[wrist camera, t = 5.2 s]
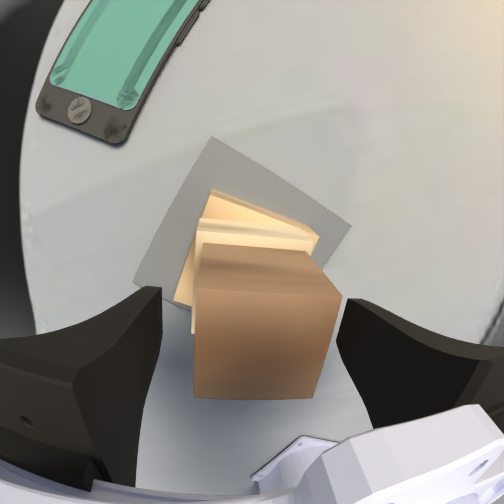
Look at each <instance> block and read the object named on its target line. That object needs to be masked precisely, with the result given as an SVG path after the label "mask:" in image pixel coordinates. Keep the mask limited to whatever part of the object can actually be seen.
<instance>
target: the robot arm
mask: <svg viewBox="0 0 504 504" xmlns="http://www.w3.org/2000/svg"><path fill="white" fill-rule="evenodd" d="M162 334H163V330H162V287H156V286H144V287H143V288H141V289H139V290H138V291H136V292H135V293H133V294H132V295H130V296H129V297H127V298H126V299H124V300H123V301H121V302H120V303H118V304H116V305H115V306H113V307H111V308H109V309H108V310H106V311H104V312H102V313H101V314H99V315H97V316H95V317H93V318H90V319H88V320H86V321H83V322H81V323H78V324H76V325H73V326H69V327H66V328H63V329H60V330H57V331H53V332H49V333H44V334H39V335H34V336H27V337H18V338H6V339H0V504H491V503H492V502H494V501H495V500H497V499H498V498H499V497H500V496H502V495H503V494H504V347H497V346H486V345H480V344H474V343H469V342H464V341H461V340H457V339H453V338H449V337H446V336H443V335H440V334H438V333H435V332H432V331H429V330H427V329H425V328H422V327H420V326H418V325H416V324H413V323H411V322H409V321H407V320H405V319H403V318H401V317H399V316H397V315H395V314H393V313H391V312H389V311H387V310H385V309H383V308H381V307H379V306H377V305H375V304H373V303H371V302H369V301H366V300H363V299H349V298H348V299H347V303H346V307H345V310H344V314H343V318H342V321H341V325H340V328H339V332H338V335H337V338H336V343H337V347H338V350H339V353H340V356H341V359H342V361H343V363H344V365H345V367H346V369H347V371H348V373H349V375H350V377H351V379H352V381H353V382H354V384H355V386H356V388H357V390H358V392H359V394H360V396H361V398H362V400H363V402H364V404H365V406H366V409H367V412H368V415H369V417H370V420H371V423H372V426H373V430H370V431H367V432H364V433H361V434H357V435H354V436H351V437H348V438H346V439H345V440H343V441H341V442H339V443H337V442H332V441H326V440H321V439H316V438H311V437H306V436H301V437H299V438H298V439H297V440H296V441H295V442H293V443H292V444H291V445H290V446H289V447H288V448H287V449H285V450H284V451H283V452H282V453H281V454H279V455H278V456H277V457H276V458H275V459H273V460H272V461H271V462H270V463H268V464H267V465H266V466H265V467H263V468H262V469H261V470H260V471H258V472H257V473H256V474H254V475H253V476H252V477H251V479H252V480H253V481H257V482H258V483H259V490H260V494H257V495H236V496H224V495H196V494H182V493H171V492H162V491H154V490H147V489H140V488H135V484H136V467H137V455H138V445H139V436H140V428H141V421H142V415H143V408H144V404H145V400H146V396H147V393H148V389H149V386H150V383H151V380H152V376H153V373H154V370H155V367H156V363H157V360H158V357H159V352H160V346H161V340H162Z"/></svg>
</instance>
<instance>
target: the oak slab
mask: <svg viewBox="0 0 504 504" xmlns="http://www.w3.org/2000/svg"><path fill="white" fill-rule="evenodd" d="M200 218H207V219H219V220H230V221H241V222H252V223H262V224H273V225H283V226H292V227H299V228H300V229H301V230H303V231H304V232H305V233H306V234H307V235H308V236H309V237H310V238H311V239H312V240H313V246H312V252H313V250H314V247H315V245H316V243H317V241H318V239H319V236H318V235H317V234H316V233H315V232H314V231H313V230H312V229H310V228H309V227H308V226H307V225H305V224H302V223H300V222H297V221H295V220H292V219H290V218H287V217H285V216H282V215H280V214H277V213H275V212H272V211H269V210H267V209H264V208H262V207H259V206H256V205H254V204H251V203H249V202H246V201H243V200H241V199H238V198H235V197H233V196H230V195H227V194H224V193H222V192H219V191H216V190H213V189H211V191H210V193H209V196H208V198H207V201H206V204H205V207H204V209H203V212H202V215H201V217H200ZM197 227H198V226H197ZM196 231H197V229H196ZM196 231H195V234H194V237H193V240H192V243H191V246H190V248H189V251H188V254H187V257H186V260H185V263H184V266H183V269H182V272H181V275H180V278H179V281H178V284H177V288H176V292H175V295H174V299H173V300H174V301H177V302H180V303H183V304H186V305H189V306H192V297H193V277H194V260H195V244H196ZM312 252H311V254H312Z"/></svg>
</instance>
